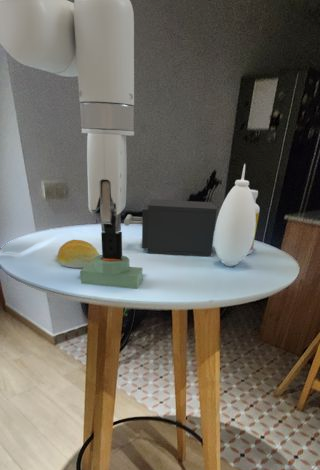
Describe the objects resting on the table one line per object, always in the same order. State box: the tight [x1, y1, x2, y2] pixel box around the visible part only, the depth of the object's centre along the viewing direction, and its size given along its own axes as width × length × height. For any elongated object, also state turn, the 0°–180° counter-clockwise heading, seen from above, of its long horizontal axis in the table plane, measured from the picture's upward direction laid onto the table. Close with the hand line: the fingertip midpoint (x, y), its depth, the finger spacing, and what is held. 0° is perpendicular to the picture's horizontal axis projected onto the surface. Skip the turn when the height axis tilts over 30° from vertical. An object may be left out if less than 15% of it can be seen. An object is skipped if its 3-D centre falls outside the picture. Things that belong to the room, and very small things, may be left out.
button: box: [103, 258, 120, 261], centre depth 63 cm, size 3×3×2 cm
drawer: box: [123, 203, 149, 249], centre depth 84 cm, size 18×9×8 cm, turn 89°
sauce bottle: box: [213, 163, 256, 267], centre depth 72 cm, size 8×8×18 cm
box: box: [79, 254, 144, 289], centre depth 64 cm, size 10×6×4 cm, turn 82°
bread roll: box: [56, 239, 100, 269], centre depth 73 cm, size 8×9×4 cm
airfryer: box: [146, 198, 218, 258], centre depth 84 cm, size 15×10×10 cm
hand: (112, 257), depth 63 cm, fingers closed
